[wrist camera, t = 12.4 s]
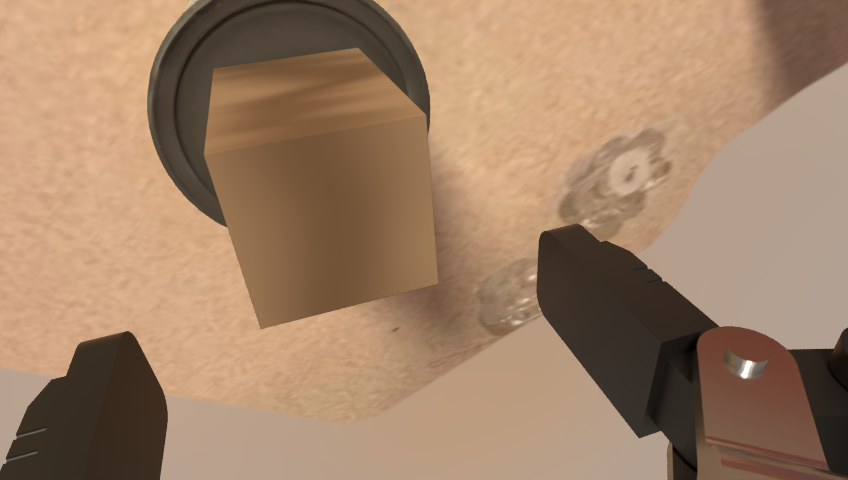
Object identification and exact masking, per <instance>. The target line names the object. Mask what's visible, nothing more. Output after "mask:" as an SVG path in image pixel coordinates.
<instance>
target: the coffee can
mask: <svg viewBox="0 0 848 480" xmlns="http://www.w3.org/2000/svg"><path fill="white" fill-rule="evenodd" d="M352 48H359V49H360V50H361V51H362V52H363V53H364V54H365V55H366V56H367V57H368V58H369V59H370V60H371V61H372V62H373V63H374V64H375V65H376V66H377V67H378V68H379V69H380V70H381V71H382V72H383V73H384V74H385V75H386V76H387V77H388V78H389V79H390V80H391V81H392V82H393V83H394V84H395V85H396V86H397V87H398V88H399V89H400V90H401V91H402V92H403V93H404V94H405V95H406V96H407V97H408V98H409V99H410V100H411V101H412V102H413V103H414V104H415V105H416V106H418V107H419V108H420V109H421V110H422V111H423V112H424V113H425V114H426V121H427V135H428V132H429V125H430V95H429V90H428V84H427V80H426V76H425V72H424V70H423V67H422V64H421V61H420V59H419V57H418V55H417V53H416V51H415V49H414V47H413V45H412V43H411V41H410V40H409V38H408V37H407V35H406V34H405V32H404V31H403V30H402V28H401V27H400V25H399V24H398V23H397V22H396V21H395V20H394V19H393V18H392V17H391V16H390V15H389V14H388V13H387V12H386V11H385V10H384V9H383V8H382V7H381V6H379V5H378V4H377V3H376V2H374V1H373V0H189V1H188V4H187V7H186V10H185V12H184V13H183V14H182V16H181V17H180V18H179V19H178V20H177V22H176V23H175V24H174V25H173V27H172V28H171V29H170V31H169V32H168V34H167V35H166V37H165V39H164V40H163V42H162V44H161V46H160V48H159V50H158V52H157V55H156V57H155V60H154V63H153V66H152V69H151V73H150V80H149V87H148V97H147V113H148V121H149V128H150V132H151V135H152V139H153V143H154V146H155V148H156V151H157V154H158V156H159V158H160V160H161V162H162V164H163V166H164V168H165V170H166V171H167V173H168V175H169V176H170V178H171V179H172V180H173V182H174V183H175V185H176V186H177V188H178V189H179V190H180V191H181V192H182V193H183V195H184V196H185V197H186V198H187V199H188V200H189V201H190V202H191V203H192V204H193V205H195V206H196V207H197V208H198V209H199V210H200V211H201V212H203V213H204V214H206V215H207V216H208V217H210V218H211V219H213V220H214V221H216V222H217V223H219V224H221V225H223V226H225V227H227V224H226V221H225V218H224V215H223V212H222V209H221V206H220V203H219V200H218V197H217V194H216V191H215V188H214V185H213V181H212V178H211V175H210V172H209V169H208V166H207V163H206V160H205V157H204V149H205V140H206V131H207V123H208V114H209V105H210V96H211V87H212V78H213V70H214V69H215V68H222V67H229V66H235V65H242V64H249V63H256V62H263V61H270V60H277V59H283V58H290V57H297V56H304V55H311V54H318V53H325V52H331V51H338V50H345V49H352ZM227 228H228V227H227Z"/></svg>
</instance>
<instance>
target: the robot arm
mask: <svg viewBox="0 0 848 480" xmlns="http://www.w3.org/2000/svg"><path fill="white" fill-rule="evenodd" d="M537 298H538V303H539V306H540V308H541V311H542V313H543V315H544V317H545V318H546V319H547V321H548V322H549V323H550V325H551V326H552V327H553V328H554V330H555V331H556V332H557V334H558V335H559V336H560V337H561V339H562V340H563V341H564V342H565V344H566V345H567V346H568V347H569V349H570V350H571V351H572V353H573V354H574V355H575V357H576V358H577V359H578V360H579V362H580V363H581V364H582V366H583V367H584V368H585V369H586V371H587V372H588V373H589V375H590V376H591V377H592V379H593V380H594V381H595V382H596V384H597V385H598V386H599V388H600V389H601V390H602V391H603V393H604V394H605V395H606V397H607V398H608V399H609V400H610V402H611V403H612V404H613V406H614V407H615V408H616V409H617V411H618V412H619V413H620V414H621V416H622V417H623V418H624V419H625V421H626V422H627V423H628V425H629V426H630V427H631V429H632V430H633V431H634V432H635V434H636V435H637V436H638V438H642V437H644V436H647V435H650V434H653V433H656V432H659V431H662V432H663V433H664V435H665V436H666V437H667V438H668V439H669V445H668V448H667V474H668V475H667V477H668V480H848V328H846V329H845V330H844V331H843V332H842V334H841V336H840V338H839V340H838V342H837V344H836V346H835V348H834V349H799V350H787V349H786V348H785V347H784V346H782V345H781V344H780V343H778V342H777V341H775V340H774V339H772V338H770V337H768V336H766V335H764V334H762V333H759V332H756V331H754V330H750V329H745V328H741V327H733V326H731V327H730V326H724V327H719V326H718V325H717V324H716V323H714V322H713V321H712V320H711V319H710V318H709V317H708V316H706V315H705V314H704V313H703V312H702V311H700V310H699V309H698V308H697V307H696V306H694V305H693V304H692V303H691V302H690V301H688V300H687V299H686V298H685V297H684V296H682V295H681V294H680V293H679V292H678V291H677V290H675V289H674V288H673V287H672V286H671V285H669V284H668V283H667V282H666V281H665V282H663V281H662V278H661V277H660V276H659V275H657V274H656V273H655V272H654V271H653V270H652V269H648V268H647V265H645V264H644V263H643V262H642V261H641V260H640V259H638V258H637V257H636V256H635V255H634V254H633V253H631V252H630V251H628V250H626V249H624V248H621V247H619V246H617V245H615V244H612V243H610V242H608V241H603V242H600V241H599V240H597V239H596V238H595V237H594V236H593V235H592V234H591V233H589V232H588V231H587V230H586V229H585V228H584V227H583V226H581V225H579V224H573V225H569V226H565V227H560V228H556V229H552V230H548V231H544V232H542V234H541V235H540V239H539V251H538V271H537ZM167 422H168V412H167V405H166V400H165V396H164V393H163V390H162V388H161V386H160V384H159V382H158V380H157V378H156V376H155V374H154V372H153V370H152V368H151V366H150V365H149V363H148V361H147V359H146V357H145V355H144V353H143V351H142V349H141V347H140V345H139V343H138V341H137V340H136V338H135V336H134V335H133V334H132V333H131V332H129V331H126V332H122V333H118V334H114V335H110V336H105V337H101V338H97V339H93V340H89V341H85V342H81V343H80V344H79V345H78V346H77V348H76V351H75V353H74V356H73V359H72V361H71V364H70V367H69V369H68V372H67V375H66V376H64V377H60V378H56V379H52V380H51V381H50V382H49V383H48V385H47V386H46V387H45V388H44V389H43V390H42V391H41V392H40V394H39V395H38V396H37V397H36V398H35V399H34V401H32V403H31V404H30V405H29V406H28V408H27V410H26V412H25V415H24V417H23V419H22V422H21V424H20V426H19V429H18V431H17V433H16V436H17V439H16V440H13V443H12V445H11V447H10V449H9V452H8V454H7V457H6V460H7V463H6V464H3V466H2V468H1V471H0V480H160V473H161V467H162V459H163V452H164V445H165V438H166V430H167Z"/></svg>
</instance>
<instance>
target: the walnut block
mask: <svg viewBox="0 0 848 480" xmlns="http://www.w3.org/2000/svg"><path fill="white" fill-rule="evenodd" d="M204 157H205V160H206V163H207V166H208V169H209V172H210V175H211V178H212V181H213V185H214V188H215V191H216V194H217V197H218V200H219V203H220V206H221V209H222V212H223V215H224V218H225V221H226V224H227V227H228V230H229V234H230V237H231V240H232V243H233V246H234V249H235V252H236V255H237V258H238V261H239V264H240V267H241V270H242V273H243V276H244V279H245V283H246V286H247V289H248V292H249V295H250V298H251V301H252V304H253V307H254V310H255V313H256V316H257V319H258V322H259V325H260V328H261V329H264V328H267V327H271V326H275V325H279V324H283V323H287V322H291V321H295V320H299V319H303V318H307V317H310V316H314V315H318V314H322V313H326V312H330V311H334V310H338V309H342V308H346V307H350V306H353V305H357V304H361V303H365V302H369V301H373V300H377V299H381V298H385V297H389V296H392V295H396V294H400V293H404V292H408V291H412V290H416V289H420V288H424V287H428V286H432V285H435V284H438V272H437V258H436V244H435V231H434V217H433V203H432V190H431V176H430V162H429V149H428V135H427V121H426V114H425V113H424V112H423V111H422V110H421V109H420V108H419V107H418V106H416V105H415V104H414V103H413V102H412V101H411V100H410V99H409V98H408V97H407V96H406V95H405V94H404V93H403V92H402V91H401V90H400V89H399V88H398V87H397V86H396V85H395V84H394V83H393V82H392V81H391V80H390V79H389V78H388V77H387V76H386V75H385V74H384V73H383V72H382V71H381V70H380V69H379V68H378V67H377V66H376V65H375V64H374V63H373V62H372V61H371V60H370V59H369V58H368V57H367V56H366V55H365V54H364V53H363V52H362V51H361V50H360V49H359V48H352V49H345V50H338V51H331V52H325V53H318V54H311V55H304V56H297V57H290V58H283V59H277V60H270V61H263V62H256V63H249V64H242V65H235V66H229V67H222V68H215V69H214V70H213V78H212V87H211V96H210V105H209V114H208V123H207V131H206V140H205V149H204Z"/></svg>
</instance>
